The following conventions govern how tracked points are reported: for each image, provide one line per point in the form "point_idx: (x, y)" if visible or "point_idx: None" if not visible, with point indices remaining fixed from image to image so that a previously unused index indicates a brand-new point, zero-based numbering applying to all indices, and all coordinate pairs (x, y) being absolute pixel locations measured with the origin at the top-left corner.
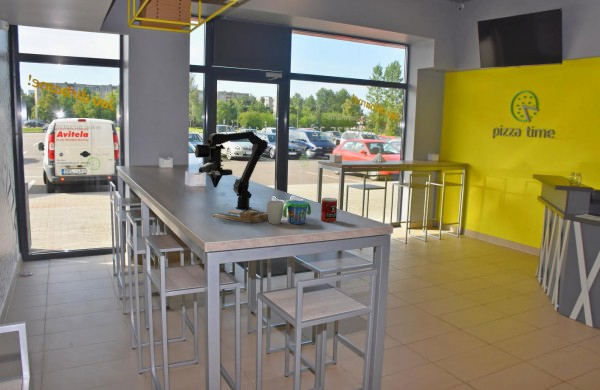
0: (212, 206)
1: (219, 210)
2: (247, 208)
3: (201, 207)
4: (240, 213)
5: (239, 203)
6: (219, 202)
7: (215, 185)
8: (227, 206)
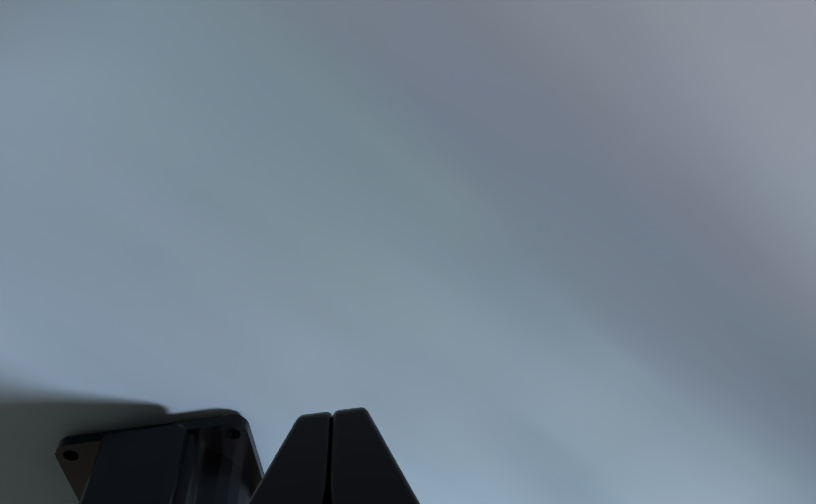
0: (618, 270)
1: (247, 130)
2: (78, 494)
3: (710, 68)
4: None
5: (118, 488)
6: (740, 498)
7: (261, 482)
8: (449, 421)
